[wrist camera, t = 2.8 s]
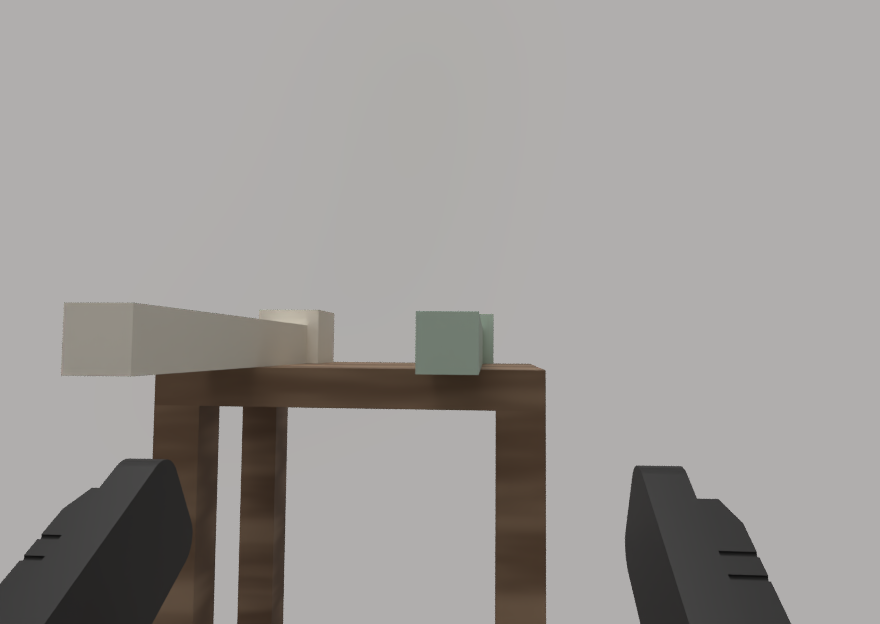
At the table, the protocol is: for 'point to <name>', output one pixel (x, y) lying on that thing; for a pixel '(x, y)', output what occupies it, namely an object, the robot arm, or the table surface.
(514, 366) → the walnut stand
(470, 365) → the sage stick
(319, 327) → the cream stick
